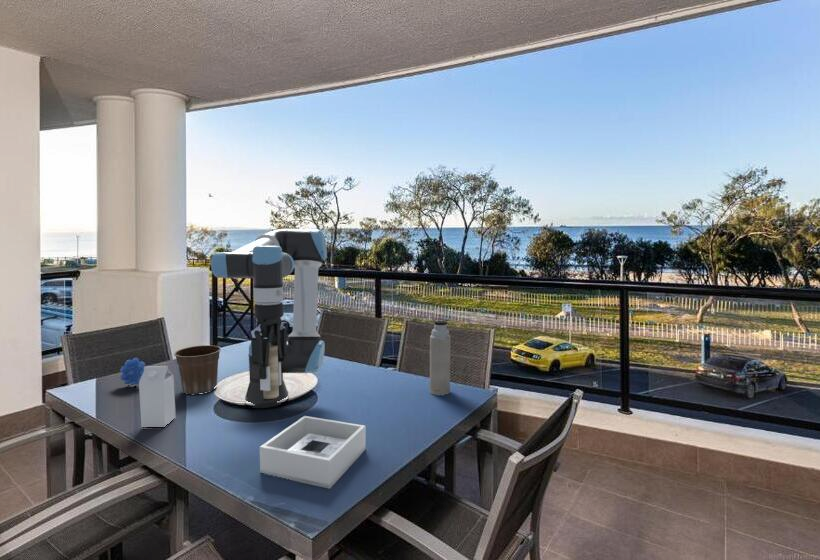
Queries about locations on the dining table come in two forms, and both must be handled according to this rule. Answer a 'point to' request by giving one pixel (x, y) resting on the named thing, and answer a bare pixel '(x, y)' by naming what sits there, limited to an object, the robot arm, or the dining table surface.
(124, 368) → the grapes
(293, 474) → the box
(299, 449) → the bore plate
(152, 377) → the milk carton
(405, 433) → the dining table surface
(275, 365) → the peg
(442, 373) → the thermos bottle
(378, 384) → the dining table surface
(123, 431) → the dining table surface
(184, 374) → the plant pot
